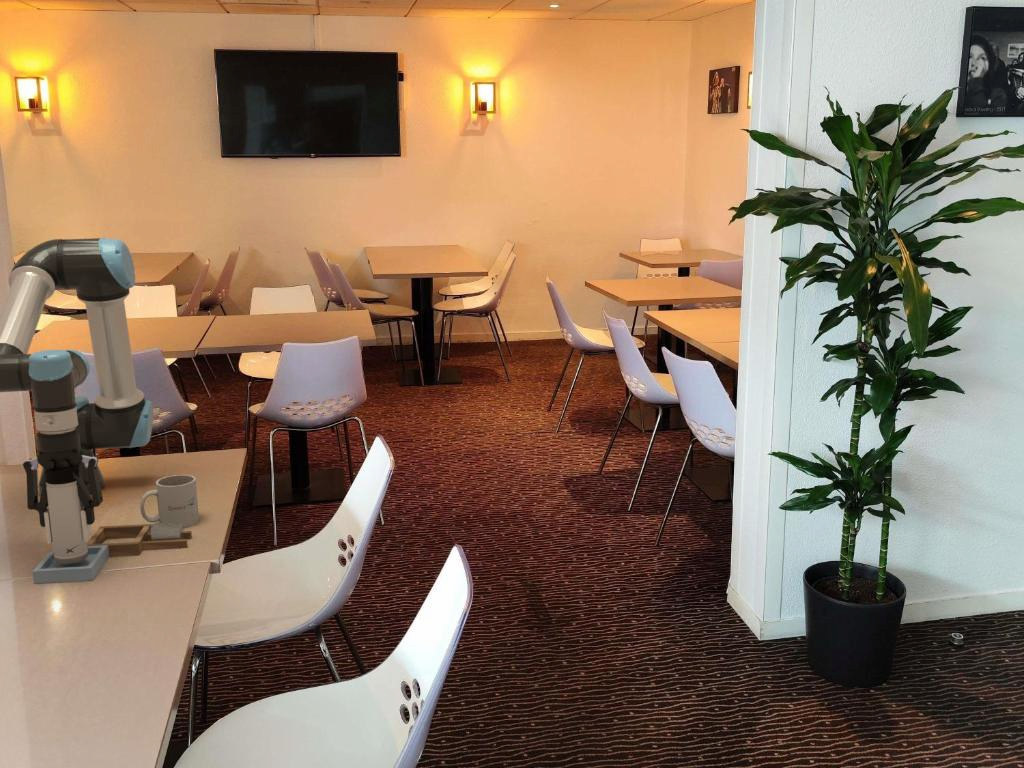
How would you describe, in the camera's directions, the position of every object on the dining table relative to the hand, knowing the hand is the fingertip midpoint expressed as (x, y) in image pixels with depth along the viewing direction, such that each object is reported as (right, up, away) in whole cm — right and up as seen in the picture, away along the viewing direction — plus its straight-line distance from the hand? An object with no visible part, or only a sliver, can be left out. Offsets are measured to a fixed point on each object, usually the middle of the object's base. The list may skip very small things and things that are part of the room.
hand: (69, 540), depth 192 cm
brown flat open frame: (+9, -3, +14) cm, 17 cm away
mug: (+11, -1, +27) cm, 29 cm away
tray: (0, -6, +1) cm, 6 cm away
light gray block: (+14, -3, +15) cm, 21 cm away
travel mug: (0, -4, +1) cm, 4 cm away
